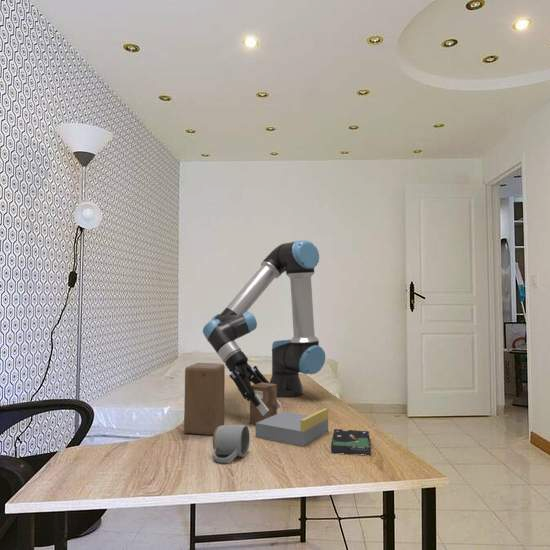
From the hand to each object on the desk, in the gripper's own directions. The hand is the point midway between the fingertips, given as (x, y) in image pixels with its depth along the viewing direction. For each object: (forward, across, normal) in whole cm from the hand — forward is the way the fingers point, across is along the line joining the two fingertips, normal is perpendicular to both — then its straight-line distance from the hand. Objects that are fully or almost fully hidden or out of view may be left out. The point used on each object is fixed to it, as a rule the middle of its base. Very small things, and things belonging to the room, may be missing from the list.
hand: (272, 410), depth 143 cm
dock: (+11, +7, +5) cm, 14 cm away
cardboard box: (0, 0, -5) cm, 5 cm away
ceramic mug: (+8, +32, +2) cm, 33 cm away
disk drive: (+25, +7, +18) cm, 31 cm away
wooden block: (-7, +18, -13) cm, 23 cm away
